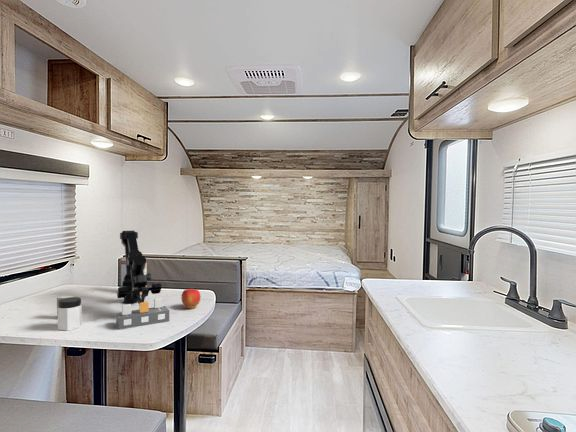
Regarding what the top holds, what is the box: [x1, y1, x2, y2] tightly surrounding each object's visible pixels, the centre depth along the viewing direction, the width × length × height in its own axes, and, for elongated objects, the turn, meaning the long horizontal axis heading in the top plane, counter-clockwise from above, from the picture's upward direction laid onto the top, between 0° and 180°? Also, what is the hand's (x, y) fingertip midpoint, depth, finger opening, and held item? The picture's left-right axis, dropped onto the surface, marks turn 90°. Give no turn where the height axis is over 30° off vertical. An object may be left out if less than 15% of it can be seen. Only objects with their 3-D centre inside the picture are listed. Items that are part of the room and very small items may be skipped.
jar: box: [57, 296, 83, 332], centre depth 148 cm, size 9×8×12 cm
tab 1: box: [121, 304, 132, 315], centre depth 150 cm, size 2×4×4 cm, turn 123°
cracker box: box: [120, 257, 148, 297], centre depth 202 cm, size 14×6×21 cm, turn 71°
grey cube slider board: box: [115, 305, 170, 330], centre depth 155 cm, size 8×21×5 cm, turn 123°
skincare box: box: [56, 294, 74, 320], centre depth 159 cm, size 5×4×10 cm
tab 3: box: [153, 297, 164, 308], centre depth 160 cm, size 2×4×4 cm, turn 123°
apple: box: [180, 288, 201, 310], centre depth 177 cm, size 10×10×10 cm
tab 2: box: [138, 301, 150, 313], centre depth 153 cm, size 2×4×4 cm, turn 123°
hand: (142, 306), depth 157 cm, fingers closed
